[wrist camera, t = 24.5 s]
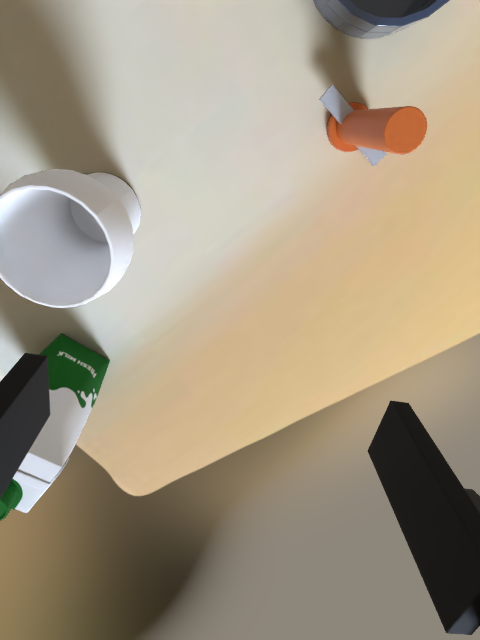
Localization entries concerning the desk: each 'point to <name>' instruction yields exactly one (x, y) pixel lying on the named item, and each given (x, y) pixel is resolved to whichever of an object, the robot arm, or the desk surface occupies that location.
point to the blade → (372, 127)
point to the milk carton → (57, 420)
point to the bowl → (375, 15)
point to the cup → (66, 235)
